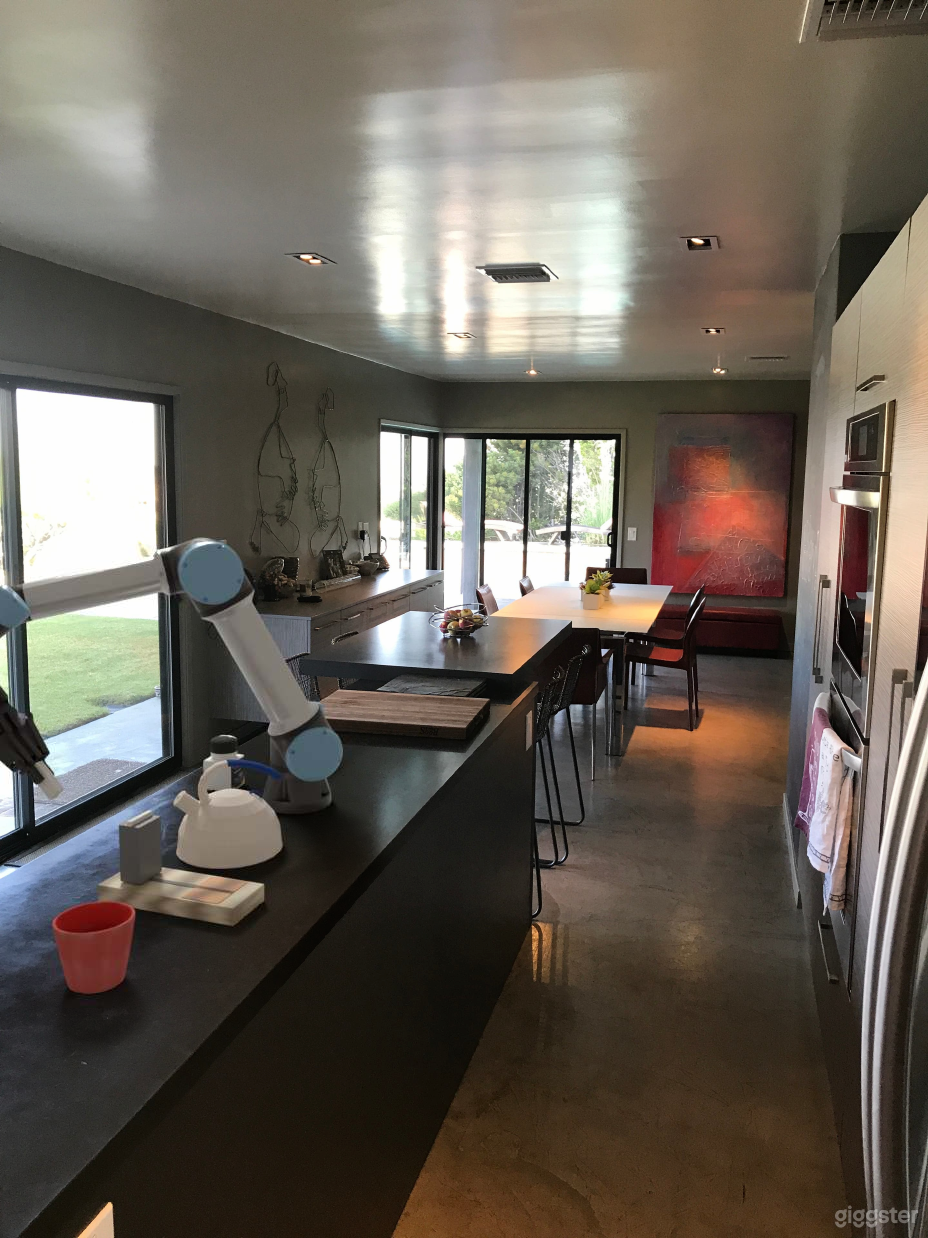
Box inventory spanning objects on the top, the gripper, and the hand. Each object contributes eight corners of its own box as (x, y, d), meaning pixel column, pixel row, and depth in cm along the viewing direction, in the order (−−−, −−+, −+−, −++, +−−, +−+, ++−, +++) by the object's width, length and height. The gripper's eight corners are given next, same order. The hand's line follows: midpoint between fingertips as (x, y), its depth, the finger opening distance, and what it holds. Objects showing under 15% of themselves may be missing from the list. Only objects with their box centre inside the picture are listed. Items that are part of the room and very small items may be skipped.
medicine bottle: (231, 792, 217) (231, 742, 215) (203, 790, 218) (202, 740, 217) (245, 783, 224) (244, 734, 222) (217, 781, 225) (216, 732, 223)
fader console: (98, 901, 160) (97, 884, 159) (135, 878, 169) (135, 862, 169) (233, 926, 152) (233, 908, 151) (264, 900, 161) (264, 883, 161)
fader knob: (120, 881, 160) (118, 820, 159) (142, 867, 166) (140, 809, 164) (140, 884, 159) (138, 823, 157) (161, 871, 165) (160, 811, 163)
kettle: (168, 837, 189) (166, 750, 187) (271, 825, 197) (271, 741, 195) (181, 876, 171) (179, 780, 168) (293, 861, 179) (293, 769, 176)
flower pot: (69, 962, 139) (66, 900, 138) (144, 961, 140) (143, 899, 139) (43, 1001, 129) (40, 934, 128) (125, 999, 130) (123, 933, 129)
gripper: (-6, 698, 175) (71, 796, 172) (-65, 714, 163) (17, 819, 160) (16, 673, 173) (94, 771, 170) (-42, 687, 160) (42, 793, 158)
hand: (57, 794), depth 165 cm, fingers closed
